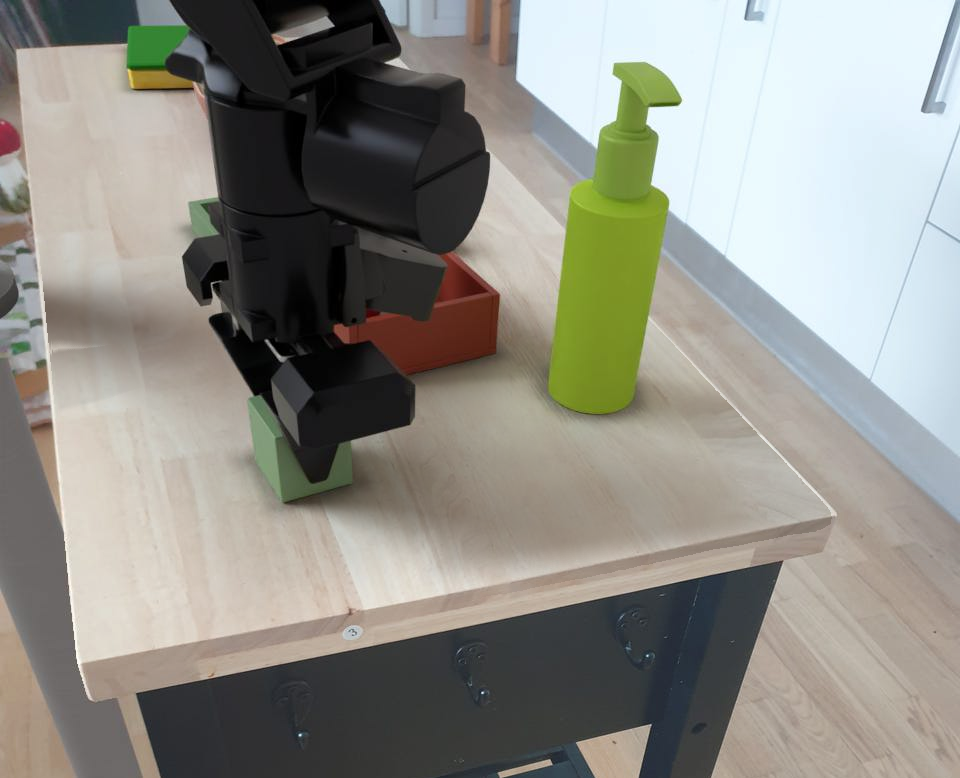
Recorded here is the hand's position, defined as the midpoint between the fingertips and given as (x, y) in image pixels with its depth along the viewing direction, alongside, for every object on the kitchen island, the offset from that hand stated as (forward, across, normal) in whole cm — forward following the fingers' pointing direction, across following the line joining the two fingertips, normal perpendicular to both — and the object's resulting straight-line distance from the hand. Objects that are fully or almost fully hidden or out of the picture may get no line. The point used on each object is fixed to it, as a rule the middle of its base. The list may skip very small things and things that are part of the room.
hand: (302, 458), depth 59 cm
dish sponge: (+1, +75, -14) cm, 76 cm away
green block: (+1, 0, 0) cm, 1 cm away
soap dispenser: (+1, 0, -21) cm, 21 cm away
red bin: (+1, +13, -12) cm, 18 cm away
